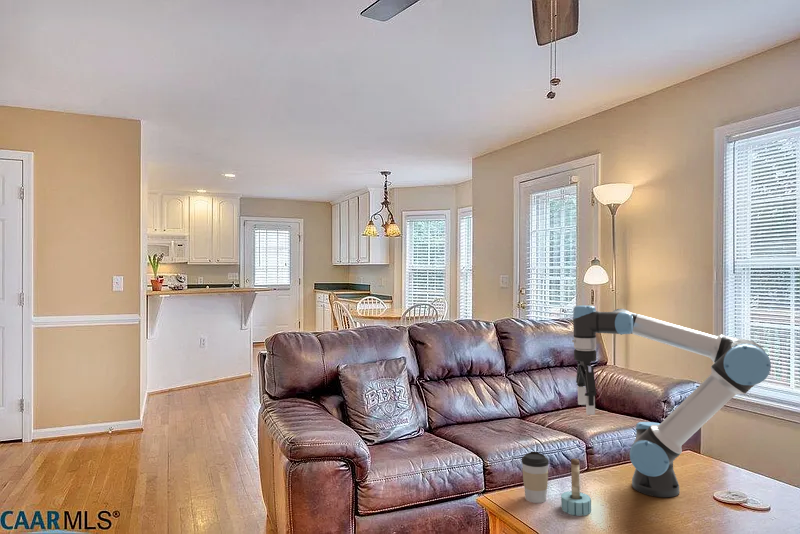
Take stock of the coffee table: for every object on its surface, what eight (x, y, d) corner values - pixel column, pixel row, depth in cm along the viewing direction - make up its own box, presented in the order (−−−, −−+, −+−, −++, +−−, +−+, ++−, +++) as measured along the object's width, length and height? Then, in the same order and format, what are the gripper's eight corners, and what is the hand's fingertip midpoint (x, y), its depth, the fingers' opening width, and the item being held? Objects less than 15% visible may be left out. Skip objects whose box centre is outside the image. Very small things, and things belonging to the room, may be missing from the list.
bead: (587, 503, 175) (587, 491, 175) (593, 516, 166) (593, 503, 166) (559, 502, 176) (559, 490, 176) (564, 515, 167) (564, 502, 167)
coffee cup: (550, 505, 174) (549, 460, 174) (522, 503, 176) (521, 458, 176) (548, 494, 183) (547, 451, 183) (521, 492, 185) (521, 449, 185)
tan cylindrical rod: (579, 507, 172) (578, 458, 172) (580, 511, 170) (580, 461, 170) (571, 507, 172) (570, 458, 173) (572, 510, 170) (571, 461, 170)
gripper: (567, 344, 198) (568, 400, 198) (581, 354, 174) (582, 419, 173) (587, 344, 197) (588, 400, 197) (605, 354, 173) (606, 419, 172)
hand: (586, 409), depth 185 cm, fingers open, 13 cm apart
